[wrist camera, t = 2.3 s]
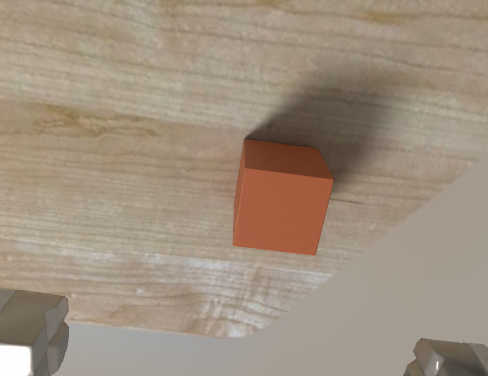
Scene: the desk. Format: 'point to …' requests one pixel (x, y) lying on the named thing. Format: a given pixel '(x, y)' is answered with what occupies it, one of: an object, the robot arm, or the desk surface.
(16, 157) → the desk surface
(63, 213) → the desk surface
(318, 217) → the block
